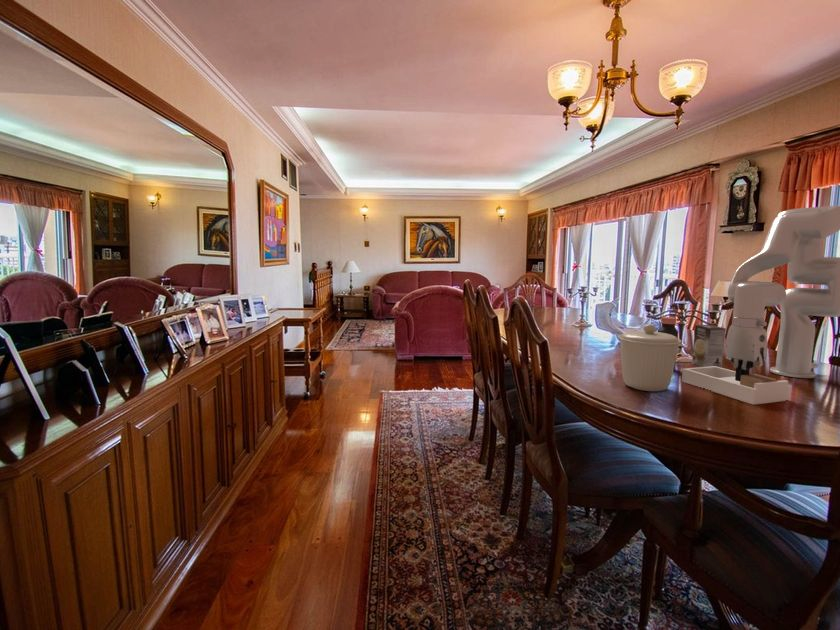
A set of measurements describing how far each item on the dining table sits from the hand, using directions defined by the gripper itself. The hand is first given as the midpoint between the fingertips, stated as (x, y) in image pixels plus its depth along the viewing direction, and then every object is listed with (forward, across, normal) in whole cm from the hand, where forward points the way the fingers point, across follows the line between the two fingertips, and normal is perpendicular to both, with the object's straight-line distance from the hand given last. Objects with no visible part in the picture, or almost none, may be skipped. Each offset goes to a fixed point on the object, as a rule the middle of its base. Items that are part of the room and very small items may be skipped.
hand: (741, 380), depth 130 cm
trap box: (+4, +3, 0) cm, 5 cm away
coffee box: (+4, +29, -20) cm, 35 cm away
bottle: (+4, +30, -1) cm, 30 cm away
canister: (+4, +13, +24) cm, 27 cm away
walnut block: (+1, -5, 0) cm, 5 cm away
